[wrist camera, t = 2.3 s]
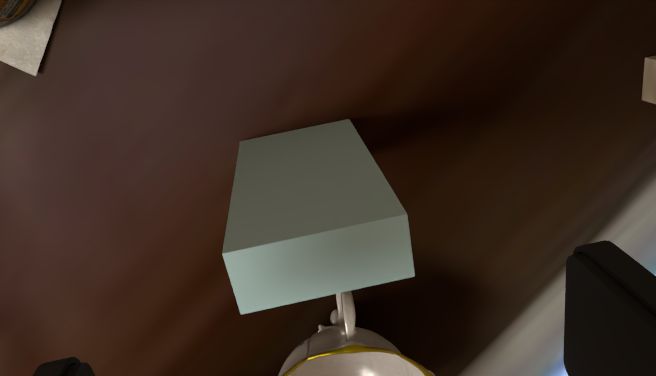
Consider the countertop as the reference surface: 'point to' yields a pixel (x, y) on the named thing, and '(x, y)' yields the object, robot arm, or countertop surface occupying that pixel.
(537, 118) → the countertop surface
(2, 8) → the condiment
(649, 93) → the tile
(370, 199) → the tile
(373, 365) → the chinaware
